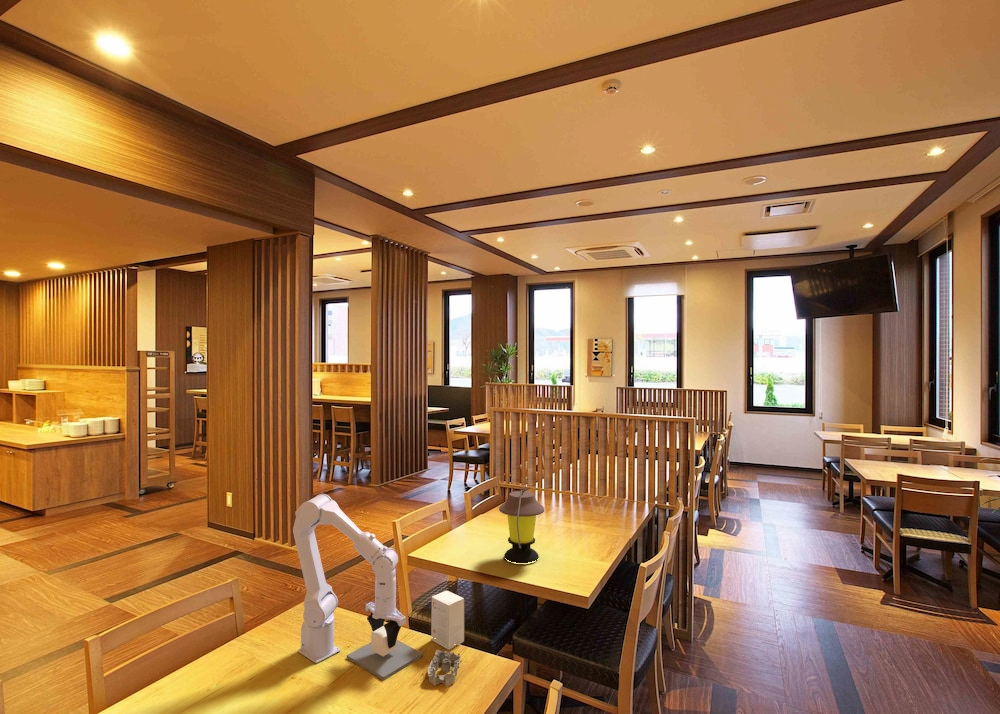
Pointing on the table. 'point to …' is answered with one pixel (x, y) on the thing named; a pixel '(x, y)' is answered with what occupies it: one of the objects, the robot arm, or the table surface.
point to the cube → (381, 642)
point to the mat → (385, 659)
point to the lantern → (521, 525)
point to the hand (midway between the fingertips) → (385, 643)
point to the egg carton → (443, 667)
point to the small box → (447, 619)
